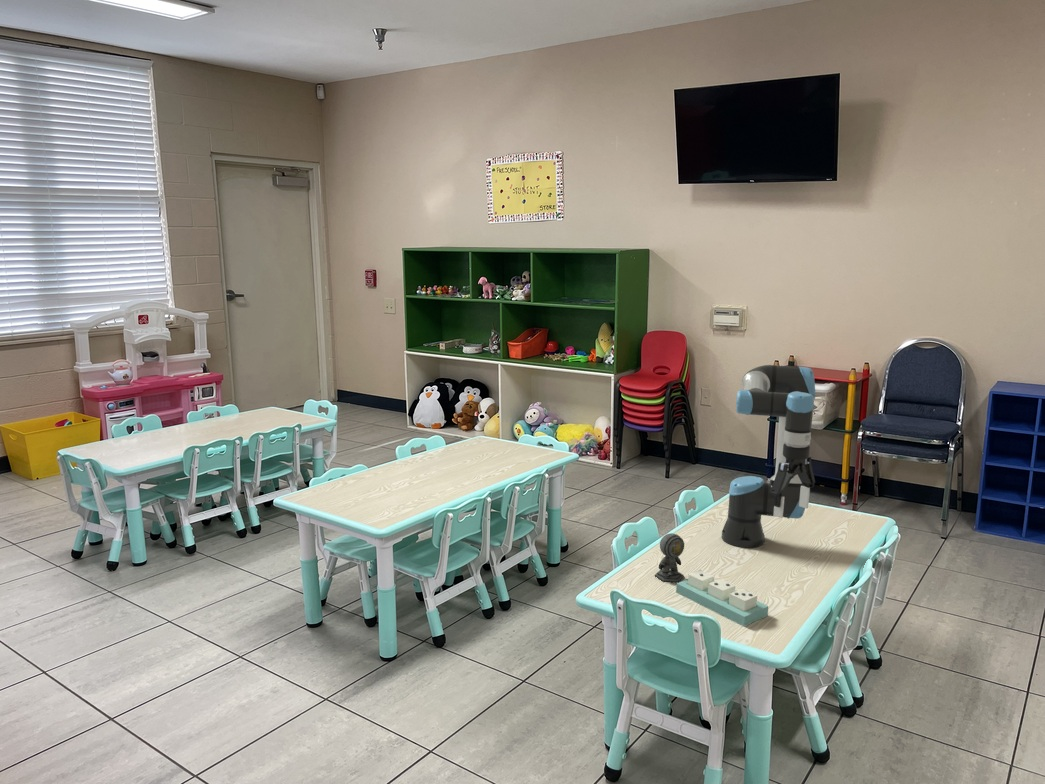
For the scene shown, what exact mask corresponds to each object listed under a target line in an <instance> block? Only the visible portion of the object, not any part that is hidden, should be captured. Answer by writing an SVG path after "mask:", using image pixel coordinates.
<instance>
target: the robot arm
mask: <svg viewBox="0 0 1045 784" xmlns="http://www.w3.org/2000/svg"><path fill="white" fill-rule="evenodd" d="M815 383H816V382H815V374H814V371H813V369H812V368H810V367H806V366H801V365H798V366H795V365H775V364H766V365H765V364H764V365H760V366H755V367H754V368H751V369H750V370H748V371H747V372H745V374H744V376H743V377H742V379H741V388H742V389H740V390H738V391H737V393H736V405H735V411H736V413H737V414H739V415H740V414H742V415H746V416H750V415H752V416H767V417H778V428H777V429H778V430H777V441H776V442H777V443H776V444H777V445H776V459H775V471H774V475H772V476H771V477H770V478H769V480H770V481H769V483H768V482H765V480H764V479H763V478H762V477H760V476H756V475H755V476H753V475H746V476H739V477H736V478H734V479H733V480H732V481H731V482H730V485H729V486H730V487H729V491H728V495H729V496H728V510H727V519H726V521H725V523H724V525H723V529H722V530H721V540H723V541H724V542H725V543H726V544H729V545H732V546H735V547H740V548H757V547H760V546H763V545H764V543H765V539H766V538H765V533H764V530H763V525H762V516H767V517H774V518H775V517H777V518H780V519H783V518H784V519H785V518H786V519H801V518H802V517H803V516H804V513H805V510H806V509H808V508H809V504H810V503H809V501H810V493H811V489H813V488H814V486H815V483H816V480H815V475H814V470H813V465H812V457H811V456H810V451H811V450H810V449H811V447H810V444H811V439H812V436H811V435H812V425H813V418H814V417H813V415H814V408H815V405H814V404H815V403H814V402H815V400H816V384H815Z"/></svg>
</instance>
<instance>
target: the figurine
mask: <svg viewBox="0 0 1045 784" xmlns="http://www.w3.org/2000/svg"><path fill="white" fill-rule="evenodd" d="M659 548H660V549H659V550H660V552H661V553H662V554H663V558H662V559H661V560H660V562H659V565H658V569H659V571H657V572H656V573H655V575H654V576H655V577H654V578H656V577H657V578H658V579H657V578H656V579H657V580H659V581H660V580H661V581H660V582H662V583H664V582H671V584H677V583H679V582H682V581H683V580H684V579H685V575H684V574H682V572H680V571H678V565H679V566H681V565H682V561H681V559H680V558H679V557H680V556H681V555H682V554H683V552H684V550H685V541H684V539H683V538H682V537H681V536H680V535H678V534H677V533H672V532H671V533H666V534H665V535H663V536H662V537H661V539H660V541H659Z"/></svg>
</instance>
